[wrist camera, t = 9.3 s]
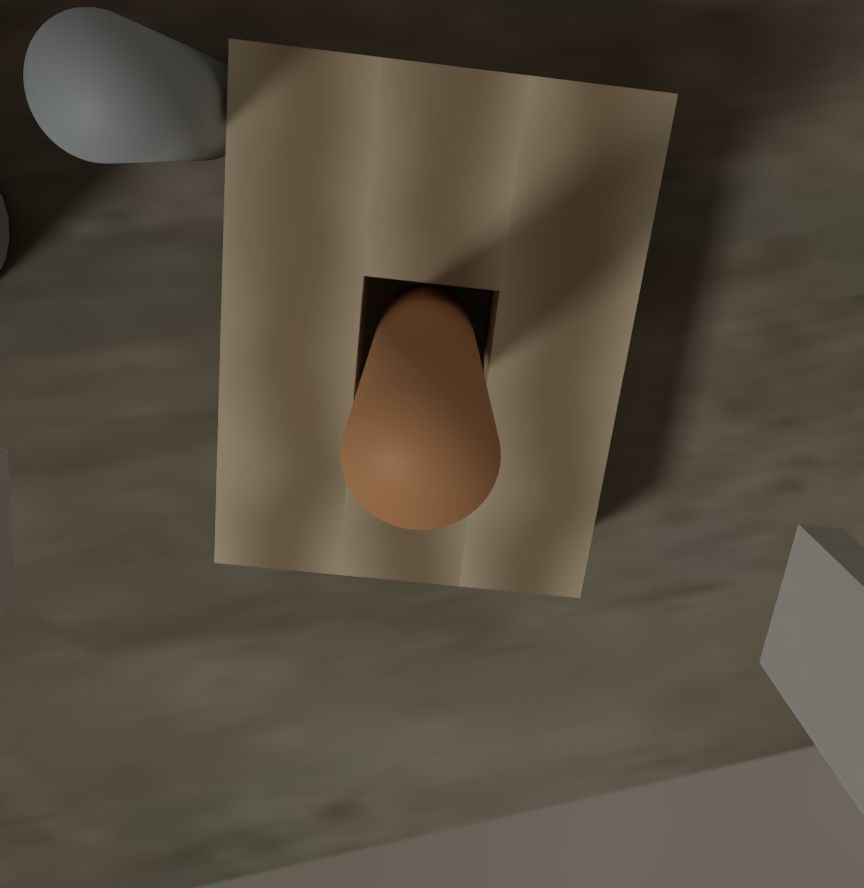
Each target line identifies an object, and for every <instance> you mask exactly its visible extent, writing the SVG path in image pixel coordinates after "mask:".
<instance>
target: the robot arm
mask: <svg viewBox="0 0 864 888" xmlns="http://www.w3.org/2000/svg"><path fill="white" fill-rule="evenodd" d="M15 600H16V585H15V568H14V552H13V535H12V518H11V502H10V485H9V469H8V452H7V448H0V617H1V616H2V614H3V613H4V612H5V611H6V610H7V609H8V608H9V607H10V606H11V604H12V603H13V602H14V601H15ZM759 663H760V664H761V666H762V667H763V669H764V670H765V672H766V673H767V674H768V676H769V677H770V679H771V680H772V682H773V683H774V685H775V686H776V688H777V689H778V691H779V692H780V694H781V695H782V697H783V698H784V699H785V701H786V702H787V704H788V705H789V707H790V708H791V710H792V711H793V713H794V714H795V716H796V717H797V719H798V720H799V721H800V723H801V724H802V726H803V727H804V729H805V730H806V732H807V733H808V735H809V736H810V738H811V739H812V741H813V742H814V744H815V745H816V746H817V748H818V749H819V751H820V752H821V754H822V755H823V757H824V758H825V760H826V761H827V763H828V764H829V765H830V767H831V768H832V770H833V771H834V773H835V774H836V776H837V777H838V779H839V780H840V782H841V783H842V785H843V786H844V787H845V789H846V791H847V792H848V793H849V795H850V796H851V798H852V799H853V801H854V802H855V804H856V805H857V807H858V808H859V810H860V811H861V813H862V814H863V815H864V547H863V546H862V545H861V544H860V543H858V542H857V541H856V540H855V539H854V538H853V537H852V536H850V535H849V534H848V533H847V532H846V531H845V530H844V529H842V528H835V527H824V526H814V525H803V524H798V528H797V531H796V535H795V538H794V542H793V545H792V549H791V552H790V556H789V559H788V563H787V567H786V570H785V574H784V577H783V581H782V584H781V588H780V591H779V595H778V598H777V602H776V606H775V609H774V613H773V616H772V620H771V623H770V627H769V630H768V634H767V637H766V641H765V644H764V648H763V652H762V655H761V659H760V662H759Z"/></svg>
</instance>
